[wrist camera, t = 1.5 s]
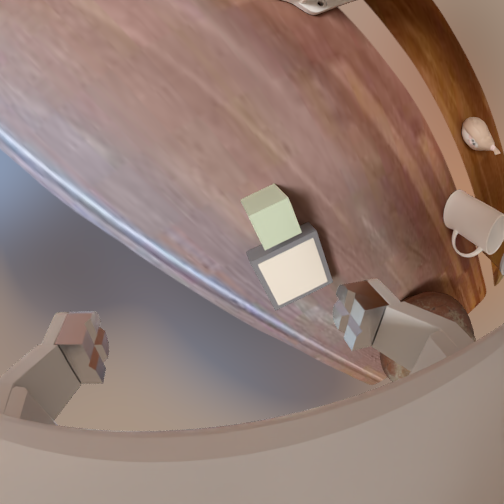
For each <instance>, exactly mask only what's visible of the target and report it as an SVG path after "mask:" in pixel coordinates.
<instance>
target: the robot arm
mask: <svg viewBox="0 0 504 504" xmlns="http://www.w3.org/2000/svg"><path fill="white" fill-rule="evenodd" d="M283 1H286V2H289V3H292V4H294V5H295V6H297V7H298V8H300V9H301V10H303V11H304V12H306V13H308V14H311V15H317V14H320V13H322V12H325V11H327V10H330V9H333V8H335V7H338V6H341V5H344V4H347V3H350V2H353V1H356V0H283ZM318 2H319V3H320V4H321V6H319V5H318ZM336 295H337V297H338V301H337V302H336V303H335V304H334V307H333V320H334V323H335V325H336V327H337V329H338V330H339V331H341V332H343V333H345V334H344V340H345V341H346V343H347V344H348V346H349V347H350V349H351V350H352V351H354V350H358V349H362V348H366V347H370V346H372V347H373V348H374V349H376V350H378V351H379V352H381V353H382V354H384V355H385V356H387V357H389V358H390V359H392V360H393V361H395V362H396V363H398V364H400V365H401V366H403V367H404V368H406V369H408V370H409V371H411V372H410V374H409V375H408V376H406V377H403V378H401V379H398V380H396V381H393V382H391V383H388V384H386V385H383V386H381V387H378V388H375V389H373V390H370V391H367V392H364V393H361V394H359V395H356V396H353V397H350V398H346V399H343V400H340V401H337V402H334V403H330V404H327V405H324V406H320V407H316V408H312V409H308V410H305V411H301V412H297V413H293V414H288V415H283V416H279V417H274V418H269V419H264V420H258V421H253V422H247V423H240V424H234V425H226V426H219V427H209V428H199V429H187V430H170V431H111V430H110V431H109V430H94V429H83V428H74V427H65V426H58V425H57V424H56V423H55V421H54V420H55V419H56V418H57V416H58V415H59V413H60V412H61V411H62V410H63V408H64V407H65V405H66V404H67V403H68V402H69V400H70V399H71V398H72V396H73V395H74V394H75V392H76V391H77V390H78V389H79V387H80V386H81V384H103V382H104V376H105V371H106V367H105V365H104V363H103V362H104V361H105V360H106V359H108V355H109V342H108V338H107V335H106V332H105V331H104V330H103V329H101V328H100V327H99V326H100V323H101V320H100V318H99V315H98V313H96V312H95V311H89V312H58V313H56V314H55V316H54V318H53V320H52V322H51V324H50V326H49V328H48V331H47V333H46V335H45V337H44V339H43V342H42V344H41V345H37V346H35V347H34V348H33V349H32V350H31V351H29V352H28V353H27V354H26V355H25V356H23V357H22V358H21V359H20V360H19V361H18V362H16V363H15V364H14V365H13V366H12V367H10V368H9V369H8V370H7V371H6V372H5V373H4V374H2V375H1V376H0V504H504V324H502V325H501V326H499V327H498V328H496V329H495V330H493V331H491V332H490V333H488V334H487V335H485V336H483V337H482V338H481V339H479V340H477V341H475V342H474V341H473V340H472V339H471V338H470V337H469V336H468V334H467V333H466V332H465V331H464V330H463V329H462V328H461V327H460V326H459V325H458V324H457V323H456V322H453V321H451V320H449V319H446V318H444V317H441V316H439V315H436V314H434V313H431V312H429V311H427V310H424V309H422V308H419V307H417V306H414V305H412V304H409V303H407V302H400V301H399V299H398V298H397V297H396V296H395V295H394V294H393V293H392V292H391V291H390V290H389V289H388V288H387V287H386V286H385V285H384V284H383V283H382V282H381V281H380V280H379V279H376V278H372V279H368V280H364V281H359V282H354V283H348V284H342V285H339V287H338V288H337V293H336Z"/></svg>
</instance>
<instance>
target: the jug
mask: <svg viewBox="0 0 504 504" xmlns="http://www.w3.org/2000/svg"><path fill="white" fill-rule="evenodd" d="M401 302H407V303H409V304H412V305H414V306H417V307H419V308H422V309H424V310H427V311H429V312H431V313H434V314H436V315H439V316H441V317H444V318H446V319H449V320H451V321H453V322H456V323H457V324H458V325H459V326H460V327H461V328H462V329H463V330H464V331H465V332H466V333H467V334H468V336H469V337H470V338H471V339H472V340H473V341H474V342H475V341H476V339H475V336H474V331H473V328H472V325H471V321H470V319H469V316H468V314H467V312H466V310H465V309H464V308H463V306H462V305H461V304H460V303H459V302H458V301H457V300H456V299H454V298H453V297H451V296H450V295H447V294H444V293H439V292H424V293H420V294H418V295H415V296H410V297H408V298H406V299H404V300H403V301H401ZM380 360H381V364H382V368H383V370H384V372H385V374H386V375H387V377H388V378H389V379H390V380H391V381H392V382H393V381H396V380H398V379H401V378H403V377H406V376H408V375H409V374H410V372H411V371H409V370H408V369H406V368H404V367H403V366H401V365H400V364H398V363H396V362H395V361H393V360H392V359H390V358H389V357H387V356H385V355H384V354H382V353H381V352H380Z"/></svg>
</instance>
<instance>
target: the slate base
mask: <svg viewBox="0 0 504 504" xmlns="http://www.w3.org/2000/svg"><path fill="white" fill-rule="evenodd" d="M300 229H301V232H302V233H300V234H298V235H296V236H294V237H292V238H290V239H288V240H286V241H284V242H281V243H279V244H277V245H275V246H273V247H271V248H269V249H267V250H264V248H263V246H262V245H259V246H257V247H255V248H253V249H251V250H249V251H247V252H246V253H247V256H248V259H249V261H250V264H251V266H252V267H253V269H254V271H255V273H256V275H257V277H258V279H259V281H260V282H261V284H262V286H263V288H264V290H265V292H266V294H267V296H268V297H269V299H270V301H271V303H272V305H273V307H274V309H275V311H276V310H278V309H280V308H282V307H284V306H286V305H288V304H290V303H292V302H294V301H297V300H299V299H301V298H303V297H305V296H307V295H309V294H311V293H313V292H315V291H317V290H319V289H321V288H323V287H325V286H327V285H328V284H330V283H332V282H333V281H332V277H331V274H330V271H329V268H328V265H327V261H326V258H325V255H324V252H323V249H322V246H321V243H320V240H319V237H318V234H317V231H316V230H315V228H314V227H313V226H312V225H311V224H310V223H309V222H307V223H305V224H303V225H301V226H300Z"/></svg>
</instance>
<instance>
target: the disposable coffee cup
mask: <svg viewBox="0 0 504 504" xmlns="http://www.w3.org/2000/svg"><path fill="white" fill-rule="evenodd" d="M482 252H483V253H484V254H485V255H486V256H487V257H488V258H489V259H490V260H491V261H492V262H493V263H494V264H495V265H496V266H497V267H498V268H499V269H500V271H501V274H502V275H504V240H503V242H502V244H501V246H500V247H499V248H498V250H497V251H496V252H495V253H493V254H491V255H488V254H487V253H486V252H484V251H482Z"/></svg>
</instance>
